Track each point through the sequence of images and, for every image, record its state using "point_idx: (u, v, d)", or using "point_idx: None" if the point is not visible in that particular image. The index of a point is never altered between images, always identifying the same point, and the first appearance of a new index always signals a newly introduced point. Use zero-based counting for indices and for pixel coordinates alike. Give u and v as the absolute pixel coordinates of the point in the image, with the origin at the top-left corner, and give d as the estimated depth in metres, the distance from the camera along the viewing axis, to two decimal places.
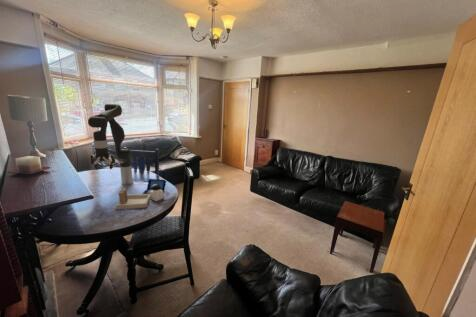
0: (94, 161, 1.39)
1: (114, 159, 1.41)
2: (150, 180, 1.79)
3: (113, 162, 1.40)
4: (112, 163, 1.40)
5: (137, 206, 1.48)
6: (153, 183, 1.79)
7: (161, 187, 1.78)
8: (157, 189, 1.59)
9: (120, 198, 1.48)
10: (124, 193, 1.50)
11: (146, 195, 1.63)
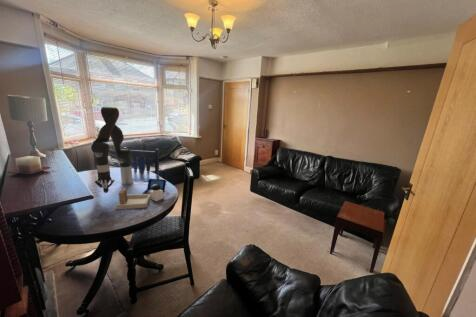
0: None
1: (111, 184, 1.49)
2: (150, 180, 1.80)
3: (109, 186, 1.47)
4: None
5: (137, 206, 1.48)
6: (153, 183, 1.79)
7: (161, 187, 1.78)
8: (157, 189, 1.59)
9: (120, 198, 1.48)
10: (124, 193, 1.50)
11: (146, 195, 1.63)
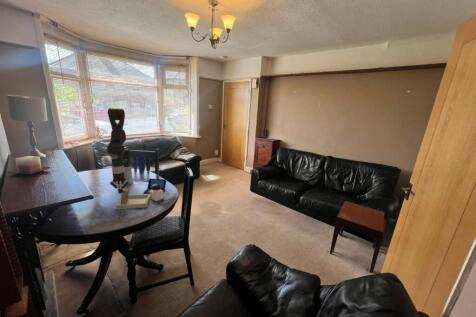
0: None
1: None
2: (150, 180, 1.80)
3: (123, 187, 1.49)
4: (122, 188, 1.50)
5: (137, 206, 1.48)
6: (153, 183, 1.79)
7: (161, 187, 1.79)
8: (157, 189, 1.59)
9: (122, 198, 1.48)
10: (126, 193, 1.51)
11: (146, 195, 1.63)
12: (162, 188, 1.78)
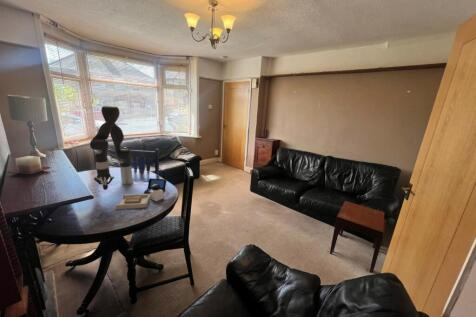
0: None
1: None
2: (150, 179, 1.81)
3: (108, 183, 1.46)
4: (107, 184, 1.47)
5: (137, 206, 1.48)
6: (154, 182, 1.80)
7: (162, 186, 1.80)
8: (157, 189, 1.59)
9: (132, 202, 1.51)
10: None
11: (146, 195, 1.63)
12: (162, 188, 1.79)
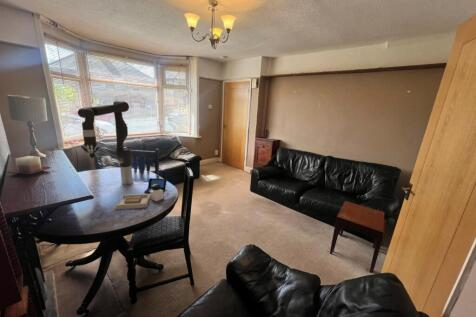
0: None
1: (97, 149, 1.55)
2: (151, 179, 1.81)
3: (95, 151, 1.53)
4: (94, 152, 1.54)
5: (137, 206, 1.48)
6: (154, 182, 1.81)
7: (162, 186, 1.80)
8: (157, 189, 1.59)
9: (132, 202, 1.51)
10: None
11: (146, 195, 1.63)
12: (163, 187, 1.80)
